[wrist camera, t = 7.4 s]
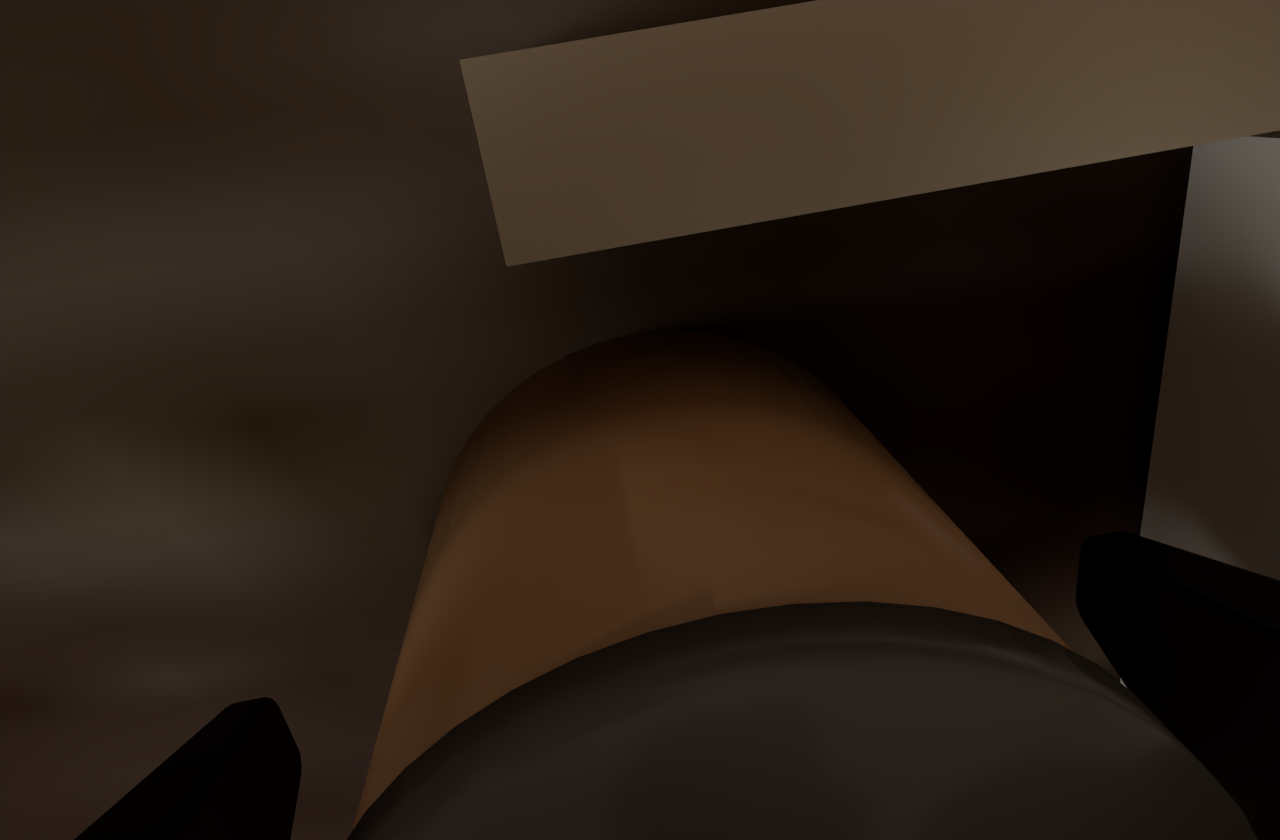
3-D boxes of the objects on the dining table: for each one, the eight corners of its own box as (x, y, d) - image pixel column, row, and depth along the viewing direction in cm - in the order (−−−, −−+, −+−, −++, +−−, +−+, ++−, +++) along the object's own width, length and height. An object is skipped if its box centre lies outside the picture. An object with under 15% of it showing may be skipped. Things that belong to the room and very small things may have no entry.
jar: (893, 676, 12) (1195, 1197, 6) (491, 756, 11) (434, 1368, 6) (884, 281, 9) (1383, 568, 4) (368, 373, 9) (75, 827, 3)
